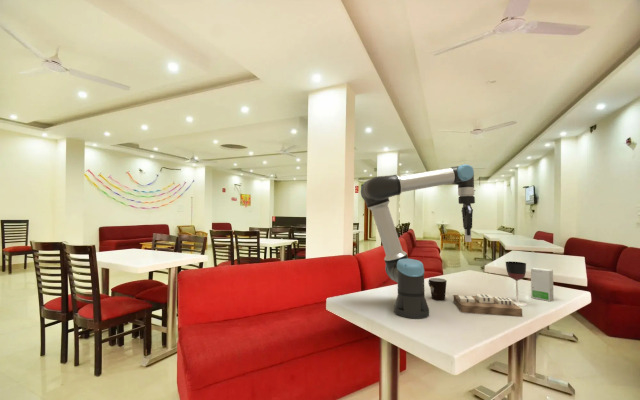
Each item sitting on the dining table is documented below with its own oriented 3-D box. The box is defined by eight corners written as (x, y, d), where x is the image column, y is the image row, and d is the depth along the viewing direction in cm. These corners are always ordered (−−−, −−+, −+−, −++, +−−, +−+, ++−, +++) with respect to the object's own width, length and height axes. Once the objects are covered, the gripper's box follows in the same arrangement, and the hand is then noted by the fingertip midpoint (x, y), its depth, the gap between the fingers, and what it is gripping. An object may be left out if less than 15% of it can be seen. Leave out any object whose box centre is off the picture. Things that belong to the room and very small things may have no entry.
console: (461, 312, 129) (461, 305, 129) (453, 301, 146) (453, 294, 146) (522, 316, 123) (521, 309, 123) (506, 304, 140) (506, 297, 140)
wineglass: (515, 300, 147) (513, 261, 148) (532, 305, 139) (530, 263, 140) (503, 301, 144) (501, 261, 146) (520, 306, 136) (518, 264, 137)
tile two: (479, 302, 132) (479, 296, 133) (475, 298, 138) (475, 293, 138) (493, 303, 131) (493, 297, 131) (489, 299, 137) (489, 294, 137)
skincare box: (531, 298, 150) (529, 268, 151) (535, 296, 154) (533, 267, 155) (550, 301, 144) (549, 270, 145) (554, 299, 148) (553, 269, 149)
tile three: (498, 305, 130) (498, 299, 130) (494, 301, 136) (494, 296, 136) (513, 306, 129) (513, 300, 129) (508, 302, 135) (508, 297, 135)
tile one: (460, 303, 134) (460, 298, 134) (458, 300, 140) (457, 294, 140) (474, 304, 133) (474, 299, 133) (471, 301, 139) (471, 295, 139)
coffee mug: (449, 301, 145) (448, 281, 146) (431, 300, 147) (430, 281, 148) (443, 295, 157) (443, 277, 157) (427, 294, 158) (426, 276, 159)
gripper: (478, 194, 140) (480, 243, 139) (471, 196, 153) (472, 240, 151) (461, 195, 142) (463, 242, 141) (455, 197, 155) (457, 240, 153)
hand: (468, 241), depth 146 cm, fingers closed
